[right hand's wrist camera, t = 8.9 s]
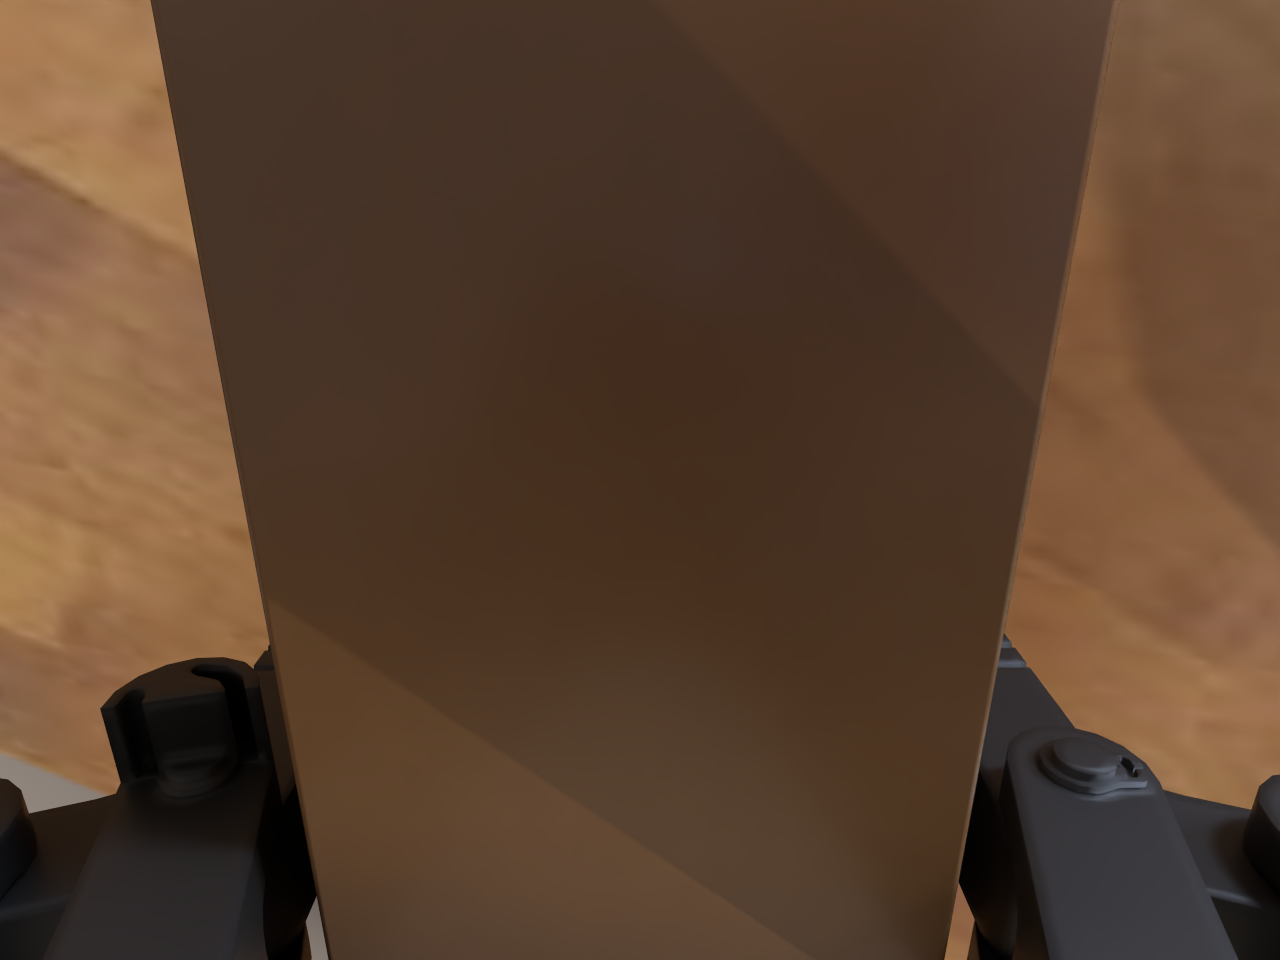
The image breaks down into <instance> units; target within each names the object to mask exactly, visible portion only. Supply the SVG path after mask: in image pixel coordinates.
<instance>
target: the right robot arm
mask: <svg viewBox="0 0 1280 960" xmlns="http://www.w3.org/2000/svg"><path fill="white" fill-rule="evenodd" d="M100 710H101V713H102V717H103V720H104V724H105V727H106V731H107V735H108V738H109V742H110V745H111V749H112V753H113V756H114V760H115V763H116V767H117V771H118V774H119V778H120V781H121V784H120V786H119V788H118V790H117V793H116V794H113V795H110V796H106V797H102V798H99V799H95V800H90V801H86V802H81V803H76V804H72V805H67V806H62V807H58V808H53V809H48V810H43V811H39V812H34V813H28V810H27V806H26V804H25V801H24V798H23V795H22V791H21V790H20V789H19V788H18V787H17V786H15V785H14V784H13V783H12V782H10V781H9V780H7V779H1V778H0V960H311V958H312V957H311V950H310V943H309V936H308V931H307V926H306V919H307V917H308V915H309V912H310V910H311V908H312V905H313V903H314V901H315V898H316V896H317V894H316V889H315V884H314V878H313V873H312V867H311V862H310V857H309V851H308V846H307V840H306V835H305V830H304V824H303V819H302V813H301V808H300V803H299V797H298V792H297V787H296V781H295V776H294V770H293V765H292V760H291V754H290V749H289V743H288V738H287V733H286V727H285V722H284V716H283V711H282V706H281V700H280V695H279V690H278V684H277V679H276V673H275V668H274V663H273V657H272V652H271V646H270V645H269V646H268V651H264V653H263V654H262V655H261V657H260V658H259V659H258V661H257V662H256V663H255V665H254V669H253V668H252V667H250V666H249V665H248V664H247V663H245V662H242V661H238V660H234V659H229V658H225V657H217V658H195V659H191V660H186V661H182V662H177V663H173V664H168V665H165V666H163V667H160V668H158V669H155V670H153V671H150V672H148V673H145V674H143V675H141V676H138V677H137V678H135V679H134V680H132V681H131V682H129V683H128V684H126V685H124V686H123V687H121V688H120V689H118V690H117V691H115V692H114V693H113V695H112V696H111V697H110V698H109V699H108V700H107V701H106V703H105V704H104V705H103V706H102V707H101V708H100ZM958 882H959V884H960V886H961V889H962V891H963V893H964V896H965V898H966V900H967V903H968V905H969V907H970V909H971V912H972V914H973V916H974V919H975V921H974V926H973V931H972V936H971V942H970V947H969V952H968V957H967V960H1280V775H1274V776H1271V777H1270V778H1269V779H1268V780H1266V781H1265V782H1264V783H1263V784H1261V785H1260V786H1259V789H1258V792H1257V795H1256V798H1255V801H1254V804H1253V807H1252V810H1249V809H1245V808H1240V807H1235V806H1231V805H1226V804H1221V803H1216V802H1212V801H1207V800H1202V799H1198V798H1193V797H1188V796H1184V795H1180V794H1176V793H1173V792H1169V791H1166V790H1163V789H1162V787H1161V784H1160V782H1159V781H1158V779H1157V778H1156V777H1155V775H1154V774H1153V772H1152V771H1151V770H1150V768H1149V767H1148V766H1147V764H1146V763H1145V762H1143V761H1142V760H1141V759H1139V758H1138V757H1137V756H1135V755H1134V754H1133V753H1131V752H1130V751H1129V750H1127V749H1126V748H1125V747H1123V746H1121V745H1119V744H1117V743H1115V742H1113V741H1111V740H1108V739H1106V738H1104V737H1102V736H1100V735H1098V734H1095V733H1091V732H1087V731H1083V730H1079V729H1075V727H1074V726H1073V725H1072V723H1071V722H1070V721H1069V719H1068V718H1067V717H1066V715H1065V714H1064V713H1063V711H1062V710H1061V709H1060V707H1059V706H1058V705H1057V703H1056V702H1055V701H1054V699H1053V698H1052V697H1051V695H1050V694H1049V693H1048V691H1047V690H1046V689H1045V687H1044V686H1043V685H1042V683H1041V682H1040V681H1039V679H1038V678H1037V677H1036V675H1035V674H1034V673H1033V671H1032V670H1031V669H1030V668H1026V662H1025V661H1024V659H1023V658H1022V657H1021V655H1020V654H1019V653H1018V651H1017V650H1016V649H1015V648H1012V646H1011V642H1010V641H1009V639H1008V638H1007V637H1006V635H1005V634H1004V635H1003V640H1002V646H1001V651H1000V657H999V662H998V668H997V673H996V678H995V684H994V689H993V695H992V700H991V706H990V711H989V717H988V722H987V728H986V733H985V739H984V744H983V750H982V755H981V761H980V766H979V772H978V777H977V783H976V788H975V793H974V799H973V804H972V810H971V815H970V821H969V826H968V832H967V837H966V843H965V848H964V854H963V859H962V865H961V870H960V876H959V881H958Z"/></svg>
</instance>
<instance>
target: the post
mask: <svg viewBox="0 0 1280 960" xmlns="http://www.w3.org/2000/svg"><path fill="white" fill-rule="evenodd" d="M151 5H152V10H153V16H154V21H155V27H156V32H157V37H158V43H159V48H160V54H161V59H162V64H163V70H164V75H165V81H166V86H167V91H168V97H169V102H170V107H171V113H172V118H173V124H174V129H175V134H176V140H177V145H178V151H179V156H180V161H181V167H182V172H183V178H184V183H185V188H186V194H187V199H188V204H189V210H190V215H191V221H192V226H193V231H194V237H195V242H196V248H197V253H198V258H199V264H200V269H201V275H202V280H203V285H204V291H205V296H206V301H207V307H208V312H209V318H210V323H211V328H212V334H213V339H214V345H215V350H216V355H217V361H218V366H219V372H220V377H221V382H222V388H223V393H224V399H225V404H226V409H227V415H228V420H229V425H230V431H231V436H232V442H233V447H234V452H235V458H236V463H237V469H238V474H239V479H240V485H241V490H242V496H243V501H244V506H245V512H246V517H247V522H248V528H249V533H250V539H251V544H252V549H253V555H254V560H255V566H256V571H257V576H258V582H259V587H260V593H261V598H262V603H263V609H264V614H265V619H266V625H267V630H268V636H269V641H270V646H271V652H272V657H273V663H274V668H275V673H276V679H277V684H278V690H279V695H280V700H281V706H282V711H283V716H284V722H285V727H286V733H287V738H288V743H289V749H290V754H291V760H292V765H293V770H294V776H295V781H296V787H297V792H298V797H299V803H300V808H301V813H302V819H303V824H304V830H305V835H306V840H307V846H308V851H309V857H310V862H311V867H312V873H313V878H314V884H315V889H316V894H317V900H318V905H319V910H320V916H321V921H322V927H323V932H324V937H325V943H326V948H327V953H328V959H329V960H944V958H945V952H946V947H947V941H948V936H949V930H950V925H951V919H952V914H953V908H954V903H955V898H956V892H957V887H958V881H959V876H960V870H961V865H962V859H963V854H964V848H965V843H966V837H967V832H968V826H969V821H970V815H971V810H972V804H973V799H974V793H975V788H976V783H977V777H978V772H979V766H980V761H981V755H982V750H983V744H984V739H985V733H986V728H987V722H988V717H989V711H990V706H991V700H992V695H993V689H994V684H995V678H996V673H997V668H998V662H999V657H1000V651H1001V646H1002V640H1003V635H1004V629H1005V624H1006V618H1007V613H1008V607H1009V602H1010V596H1011V591H1012V585H1013V580H1014V574H1015V569H1016V563H1017V558H1018V552H1019V547H1020V542H1021V536H1022V531H1023V525H1024V520H1025V514H1026V509H1027V503H1028V498H1029V492H1030V487H1031V481H1032V476H1033V470H1034V465H1035V459H1036V454H1037V448H1038V443H1039V437H1040V432H1041V427H1042V421H1043V416H1044V410H1045V405H1046V399H1047V394H1048V388H1049V383H1050V377H1051V372H1052V366H1053V361H1054V355H1055V350H1056V344H1057V339H1058V333H1059V328H1060V322H1061V317H1062V311H1063V306H1064V301H1065V295H1066V290H1067V284H1068V279H1069V273H1070V268H1071V262H1072V257H1073V251H1074V246H1075V240H1076V235H1077V229H1078V224H1079V218H1080V213H1081V207H1082V202H1083V196H1084V191H1085V186H1086V180H1087V175H1088V169H1089V164H1090V158H1091V153H1092V147H1093V142H1094V136H1095V131H1096V125H1097V120H1098V114H1099V109H1100V103H1101V98H1102V92H1103V87H1104V81H1105V76H1106V70H1107V65H1108V60H1109V54H1110V49H1111V43H1112V38H1113V32H1114V27H1115V21H1116V16H1117V10H1118V5H1119V0H151Z"/></svg>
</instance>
